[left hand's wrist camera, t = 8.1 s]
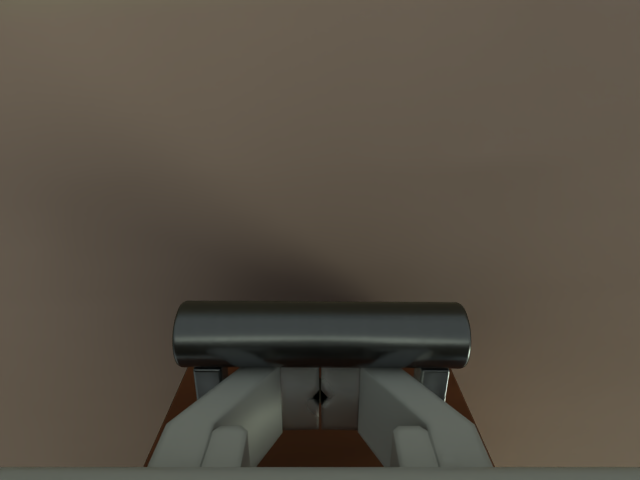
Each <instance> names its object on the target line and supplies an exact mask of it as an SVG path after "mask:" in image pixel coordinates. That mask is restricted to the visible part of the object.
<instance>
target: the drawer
mask: <svg viewBox="0 0 640 480" xmlns="http://www.w3.org/2000/svg"><path fill="white" fill-rule="evenodd" d="M172 344H173V354H174V358H175V361H176V363H177V364H178V365H179V366H181V367H188V368H187V370H186V372H185V375H184V377H183V379H182V381H181V384H180V386H179V388H178V390H177V393H176V395H175V397H174V399H173V401H172V404H171V406H170V408H169V410H168V413H167V415H166V417H165V419H164V422H163V424H162V426H161V428H160V431H159V433H158V435H157V437H156V440H155V442H154V444H153V446H152V449H151V451H150V453H149V455H148V458H147V460H146V462H145V464H144V467H147V466H148V464H149V461H150V459H151V457H152V455H153V452H154V450H155V448H156V446H157V444H158V441H159V439H160V437H161V435H162V432H163V430H164V428H165V426H166V424H167V423H168V422H169V421H171V420H172V419H173V418H175V417H176V416H177V415H179V414H180V413H181V412H182V411H184V410H185V409H186V408H188V407H189V406H190V405H192V404H193V403H194V402H196V401H197V400H198V399H199V398H201V397H202V396H203V395H205V394H206V393H207V392H209V391H210V390H211V389H213V388H214V387H215V386H216V385H218V384H219V383H220V382H222V381H223V380H224V379H226V378H227V377H228V376H230V375H231V374H232V373H233V372H235V371H236V370H237V369H239V368H240V367H266V368H319V429H316V430H282V434H281V435H280V437H279V438H278V439H277V440H276V442H275V443H274V444H273V446H272V447H271V448H270V450H269V451H268V452H267V454H266V455H265V456H264V458H263V459H262V460H261V461H260V463H259V464H258V465H257V467H384V466H383V465H382V463H381V462H380V461H379V460H378V458H377V457H376V456H375V454H374V453H373V452H372V450H371V449H370V448H369V446H368V445H367V444H366V442H365V441H364V440H363V438H362V437H361V436H360V434H359V433H358V430H323V429H321V368H402V369H403V370H404V371H406V372H407V373H408V374H409V375H411V376H412V377H413V378H415V379H416V380H417V381H419V382H420V383H421V384H422V385H424V386H425V387H426V388H428V389H429V390H430V391H432V392H433V393H434V394H435V395H437V396H438V397H439V398H441V399H442V400H443V401H445V402H446V403H447V404H448V405H450V406H451V407H452V408H454V409H455V410H456V411H458V412H459V413H460V414H461V415H463V416H464V417H465V418H467V419H468V420H469V421H471V422H472V423H473V424H475V422H474V419H473V417H472V415H471V413H470V411H469V408H468V406H467V404H466V402H465V399H464V397H463V395H462V393H461V390H460V388H459V386H458V384H457V382H456V379H455V377H454V375H453V373H452V370H451V368H463V367H465V366H466V365H467V363H468V361H469V357H470V351H471V331H470V325H469V320H468V317H467V314H466V311H465V309H464V308H463V306H462V305H461V304H459V303H456V302H313V301H185V302H183V303H182V304H181V305H180V307H179V309H178V311H177V314H176V317H175V322H174V327H173V338H172ZM475 427H476V429H477V431H478V428H477V426H476V424H475ZM478 433H479V431H478ZM479 436H480V438H481V440H482V437H481V435H480V433H479ZM482 443H483V445H484V447H485V449H486V452H487V454H488V456H489V458H490V461H491V463H492V465H493V467H495V466H494V464H493V462H492V460H491V457H490V455H489V453H488V451H487V448H486V446H485V444H484V442H483V440H482Z"/></svg>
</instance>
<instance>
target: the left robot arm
mask: <svg viewBox="0 0 640 480" xmlns="http://www.w3.org/2000/svg"><path fill="white" fill-rule="evenodd" d="M316 429H319V368H266V367H240V368H239V369H237V370H236V371H235V372H233V373H232V374H231V375H230V376H228V377H227V378H226V379H224V380H223V381H222V382H220V383H219V384H218V385H216V386H215V387H214V388H213V389H211V390H210V391H209V392H207V393H206V394H205V395H203V396H202V397H201V398H199V399H198V400H197V401H196V402H194V403H193V404H192V405H190V406H189V407H188V408H186V409H185V410H184V411H182V412H181V413H180V414H179V415H177V416H176V417H175V418H173V419H172V420H171V421H169V422H168V423H167V424H166V426H165V428H164V430H163V432H162V435H161V437H160V439H159V441H158V444H157V446H156V448H155V450H154V452H153V455H152V457H151V459H150V461H149V464H148V466H147V467H0V480H640V467H493V465H492V463H491V461H490V458H489V456H488V454H487V452H486V449H485V447H484V445H483V443H482V440H481V438H480V436H479V433H478V431H477V429H476V427H475V424H473V423H472V422H471V421H469V420H468V419H467V418H465V417H464V416H463V415H461V414H460V413H459V412H458V411H456V410H455V409H454V408H452V407H451V406H450V405H448V404H447V403H446V402H445V401H443V400H442V399H441V398H439V397H438V396H437V395H435V394H434V393H433V392H432V391H430V390H429V389H428V388H426V387H425V386H424V385H422V384H421V383H420V382H419V381H417V380H416V379H415V378H413V377H412V376H411V375H409V374H408V373H407V372H406V371H404V370H403V369H402V368H321V429H323V430H358V433H359V434H360V436H361V437H362V438H363V440H364V441H365V442H366V444H367V445H368V446H369V448H370V449H371V450H372V452H373V453H374V454H375V456H376V457H377V458H378V460H379V461H380V462H381V463H382V465H383V466H384V467H257V465H258V464H259V463H260V461H261V460H262V459H263V458H264V456H265V455H266V454H267V452H268V451H269V450H270V448H271V447H272V446H273V444H274V443H275V442H276V440H277V439H278V438H279V437H280V435H281V434H282V430H316Z"/></svg>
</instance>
